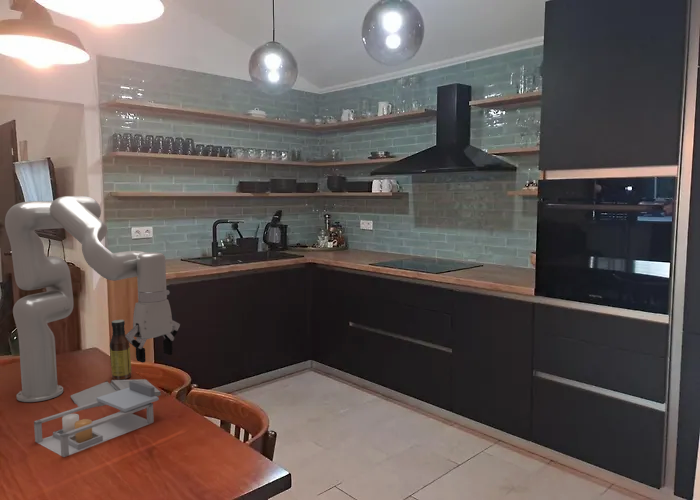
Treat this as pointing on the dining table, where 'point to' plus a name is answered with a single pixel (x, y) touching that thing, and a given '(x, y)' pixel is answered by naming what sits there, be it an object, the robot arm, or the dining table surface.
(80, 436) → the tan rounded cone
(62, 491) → the dining table surface
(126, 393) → the lid
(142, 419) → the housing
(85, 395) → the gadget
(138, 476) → the dining table surface
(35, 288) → the robot arm
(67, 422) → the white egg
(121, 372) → the sauce bottle
